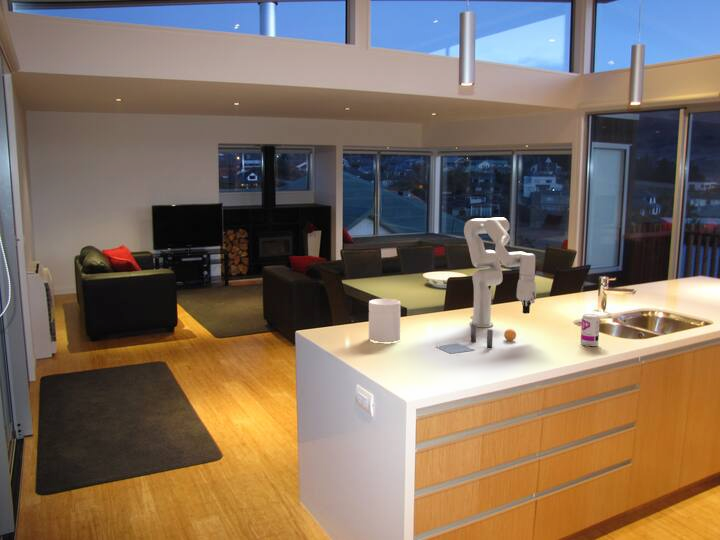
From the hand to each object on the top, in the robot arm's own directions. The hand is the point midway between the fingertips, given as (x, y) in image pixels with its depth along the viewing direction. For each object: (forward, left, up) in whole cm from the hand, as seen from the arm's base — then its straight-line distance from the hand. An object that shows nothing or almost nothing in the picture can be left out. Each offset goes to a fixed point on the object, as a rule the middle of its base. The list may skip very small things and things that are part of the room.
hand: (526, 313), depth 323 cm
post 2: (+6, -28, -14) cm, 31 cm away
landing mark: (0, -44, -14) cm, 46 cm away
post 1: (-7, -28, -14) cm, 31 cm away
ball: (0, -10, -11) cm, 14 cm away
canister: (-29, -67, -14) cm, 74 cm away
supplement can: (+24, +20, -14) cm, 34 cm away
